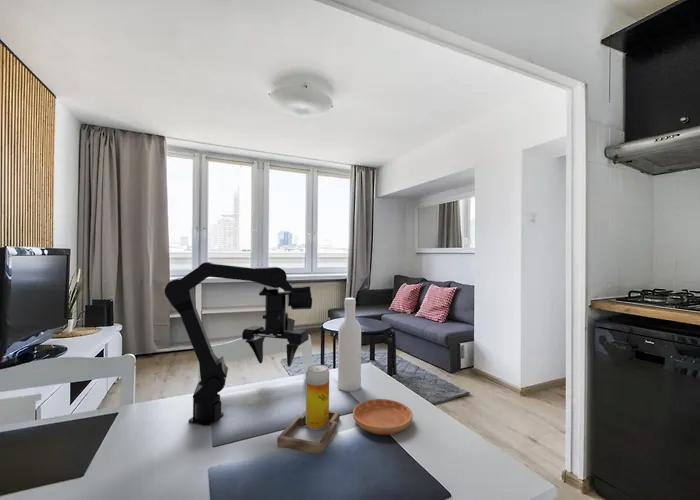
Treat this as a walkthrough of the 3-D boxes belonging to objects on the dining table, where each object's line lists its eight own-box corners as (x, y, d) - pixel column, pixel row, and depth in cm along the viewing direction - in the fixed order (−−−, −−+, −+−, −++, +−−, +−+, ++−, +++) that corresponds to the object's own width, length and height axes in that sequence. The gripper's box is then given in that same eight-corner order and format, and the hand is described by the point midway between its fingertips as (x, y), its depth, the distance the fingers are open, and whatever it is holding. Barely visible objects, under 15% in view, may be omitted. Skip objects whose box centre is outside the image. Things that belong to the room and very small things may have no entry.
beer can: (329, 430, 84) (330, 371, 84) (305, 432, 83) (306, 372, 83) (327, 418, 90) (328, 363, 90) (305, 419, 89) (305, 364, 89)
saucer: (343, 431, 84) (343, 419, 84) (364, 404, 98) (364, 394, 98) (405, 445, 78) (405, 432, 78) (417, 414, 93) (417, 404, 93)
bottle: (339, 381, 115) (340, 296, 115) (361, 382, 114) (362, 297, 114) (336, 391, 107) (337, 299, 107) (360, 392, 106) (360, 300, 106)
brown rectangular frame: (277, 446, 76) (277, 437, 76) (305, 413, 92) (305, 406, 92) (320, 454, 73) (321, 445, 73) (342, 419, 89) (342, 412, 89)
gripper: (316, 307, 99) (315, 359, 99) (262, 304, 105) (261, 353, 105) (300, 314, 89) (299, 371, 89) (241, 310, 94) (240, 364, 94)
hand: (274, 364), depth 94 cm, fingers open, 9 cm apart
